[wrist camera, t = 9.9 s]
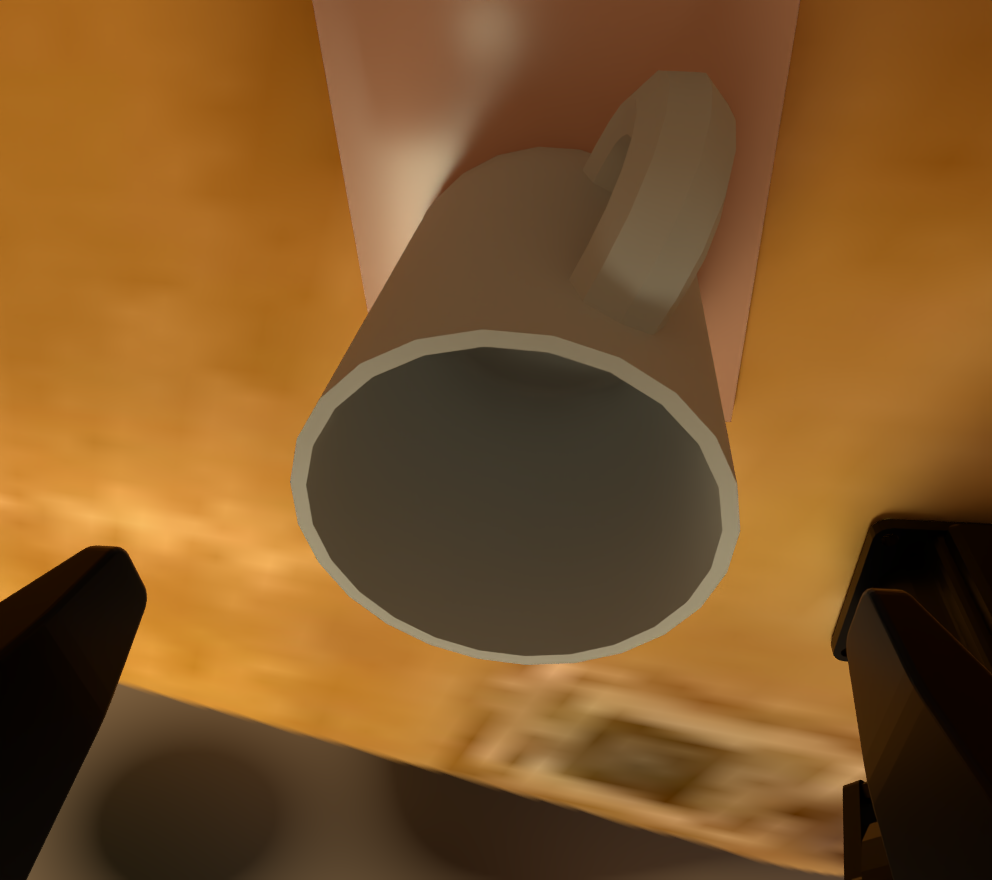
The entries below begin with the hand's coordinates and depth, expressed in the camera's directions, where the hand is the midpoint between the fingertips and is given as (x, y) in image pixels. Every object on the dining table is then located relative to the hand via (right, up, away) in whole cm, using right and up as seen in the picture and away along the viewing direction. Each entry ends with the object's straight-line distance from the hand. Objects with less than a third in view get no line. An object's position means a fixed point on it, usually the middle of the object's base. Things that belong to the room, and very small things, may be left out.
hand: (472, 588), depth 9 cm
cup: (+2, +7, +9) cm, 12 cm away
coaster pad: (+2, +7, +10) cm, 12 cm away
